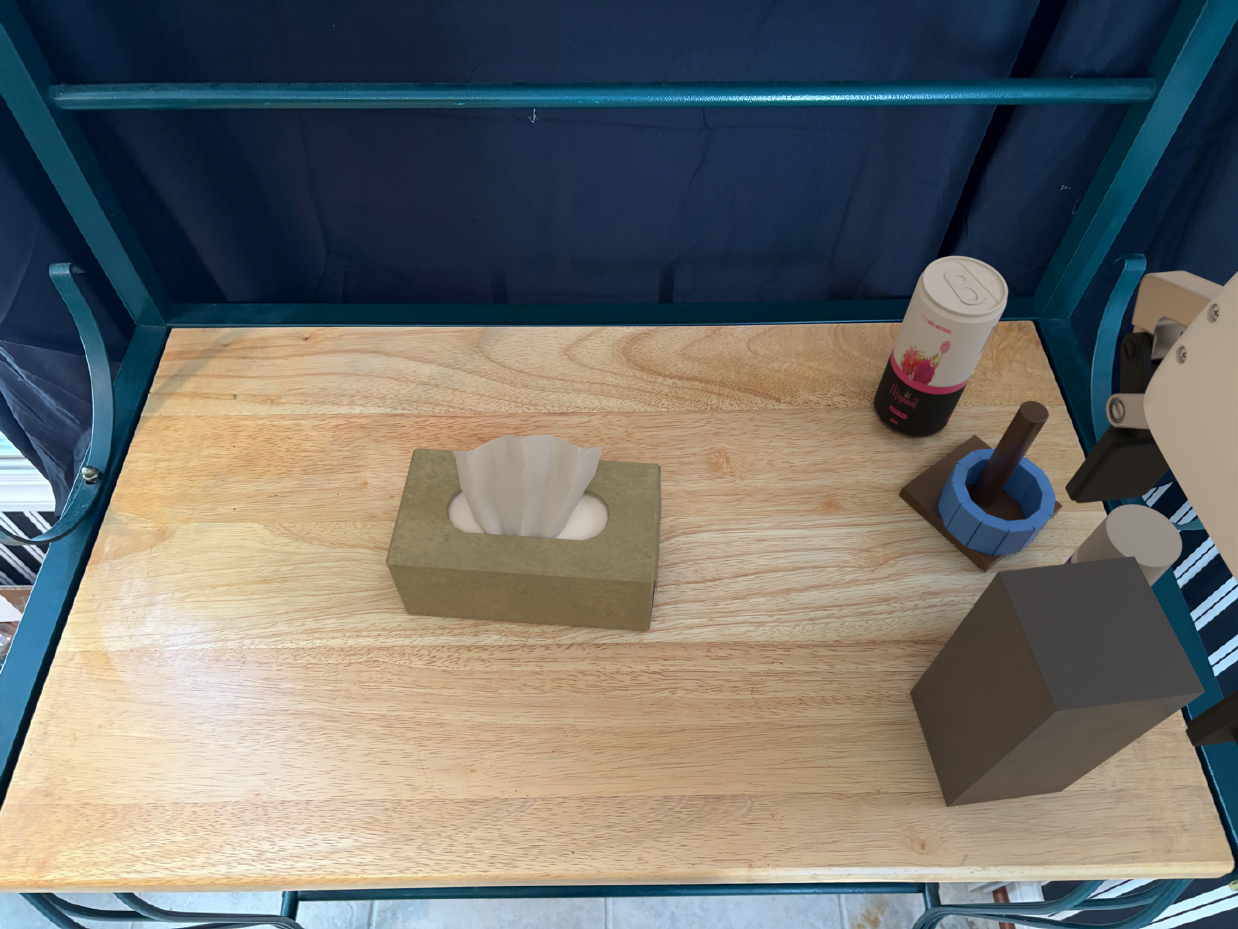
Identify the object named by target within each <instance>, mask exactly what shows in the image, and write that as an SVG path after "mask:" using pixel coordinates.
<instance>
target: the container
mask: <svg viewBox="0 0 1238 929" xmlns="http://www.w3.org/2000/svg"><path fill="white" fill-rule="evenodd" d="M1182 550H1183V541H1182V537H1181V534H1180V532H1179V531H1178V529H1177V528H1176V526H1175V524H1174V523H1172V521H1171V520H1170V519H1168V518H1167V517H1166V516H1165V515H1164V514H1162V513H1160V512H1159V511H1157V510H1156V509H1153V508H1152V507H1148V506H1145V505H1141V504H1133V503H1132V504H1123V505H1119V506H1116V508H1114V509H1112V510H1111V511H1110V512H1109V513H1108V514H1107V515H1106V517H1104V519H1103V520H1102V521H1101V522H1100V523H1099V524H1098V525H1097V526H1096V528H1095V529H1094V530H1093V531H1092V532H1091V533H1090V534H1089V535H1088V537H1086V538H1085V539H1084V541H1083V542H1082V543H1081V544H1080V545H1079V546H1078V547H1077V548H1076V549H1075V550H1074V552H1073V553H1072V554H1071V555H1070V556H1069V557H1068V559H1067V560H1065V563H1064V564H1069V563H1078V562H1087V561H1096V560H1104V559H1113V558H1122V557H1131V556H1135V558H1136V560H1137V562H1138V564H1139V566H1140V567H1141V569H1142V571H1143V573H1144V575H1145V577H1146V579H1147V581H1148V583H1149V585H1150V587H1151V588H1152V586H1153V585H1154V584H1155V583H1156V582H1157V581H1158V580H1159V579H1160V578H1161V577H1162V576H1163V575H1164V574H1165V573H1166V572H1167V570H1169V568H1170V567H1171V566H1172V565H1173V564H1174V563H1175V562H1176V561H1177V560H1178V559H1179V557H1180V556H1181V554H1182Z"/></svg>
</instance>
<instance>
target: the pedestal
mask: <svg viewBox="0 0 1238 929" xmlns="http://www.w3.org/2000/svg"><path fill="white" fill-rule="evenodd" d="M1159 602H1160V601H1158V598H1157V597H1156V594H1155V593H1154V590H1153V589H1152V586H1151V587H1150V585H1149V583H1148V581H1147V579H1146V577H1145V575H1144V573H1143V571H1142V569H1141V567H1140V566H1139V564H1138V562H1137V560H1136V558H1135V556H1131V557H1122V558H1113V559H1104V560H1096V561H1087V562H1078V563H1069V564H1065V563H1062V564H1061V563H1060V564H1054V565H1045V566H1035V567H1026V568H1017V569H1008V570H1001V571H997V573H996V574H995V575H994V577H993V578H992V579H991V581H990V582H989V584H988V585H987V586H986V588H985V589H984V590H983V592H982V593H981V595H980V596H979V597H978V599H977V600H976V601H975V603H974V604H973V606H972V607H971V608H970V610H969V611H968V612H967V614H966V615H965V617H964V618H963V619H962V620H961V622H960V624H959V625H958V626H957V628H956V629H955V630H954V631H953V633H952V634H951V635H950V637H949V638H948V640H947V641H946V642H945V644H944V645H943V647H942V648H941V649H940V650H939V652H938V653H937V655H936V656H935V657H934V659H933V660H932V662H931V663H930V664H929V666H928V667H927V668H926V669H925V671H924V672H923V674H922V675H921V677H920V678H919V679H918V680H917V682H916V683H915V685H914V686H913V688H912V689H910V692H909V693H910V697H911V700H912V703H913V707H914V709H915V712H916V715H917V718H918V722H919V726H920V728H921V730H922V733H923V737H924V741H925V743H926V746H927V750H928V752H929V755H930V758H931V761H932V764H933V767H934V771H935V774H936V777H937V779H938V782H939V785H940V789H941V792H942V796H943V798H944V801H945V804H946V807H947V808H949V807H951V808H952V807H956V806H957V807H958V806H965V805H973V804H979V803H987V802H994V801H1002V800H1008V799H1009V800H1010V799H1017V798H1023V797H1030V796H1038V795H1046V794H1053V793H1061V792H1063V791H1064V790H1066V789H1067V788H1069V787H1070V786H1071V785H1073V784H1075V783H1076V782H1077V781H1079V780H1080V779H1082V778H1083V777H1084V776H1086V775H1087V774H1089V773H1091V771H1093V770H1095V769H1096V768H1097V767H1099V766H1100V765H1102V764H1104V763H1105V762H1106V761H1108V760H1110V758H1112V757H1113V756H1115V755H1117V754H1118V753H1119V752H1120V751H1122V750H1124V749H1125V748H1126V747H1128V746H1129V745H1130V744H1132V743H1134V742H1135V741H1136V740H1138V739H1140V738H1141V737H1142V736H1144V735H1145V734H1146V733H1148V732H1150V731H1151V730H1152V729H1154V728H1155V727H1157V726H1158V725H1159V724H1161V723H1162V722H1164V721H1165V720H1168V718H1170V717H1171V716H1173V715H1174V714H1176V713H1177V712H1178V711H1180V710H1181V709H1182V708H1184V707H1185V706H1187V705H1189V704H1190V703H1191V702H1193V701H1195V699H1197V698H1198V697H1200V696H1201V695H1203V694H1204V693H1206V691H1205V688H1204V687H1203V684H1202V683H1201V681H1200V679H1199V677H1198V675H1197V673H1196V671H1195V669H1194V667H1193V665H1192V664H1191V661H1190V660H1189V658H1188V655H1187V654H1186V652H1185V650H1184V648H1183V646H1182V645H1181V642H1180V640H1179V639H1178V637H1177V635H1176V633H1175V631H1174V629H1173V627H1172V625H1171V623H1170V622H1169V619H1168V617H1167V615H1166V614H1165V611H1164V610H1163V608H1162V606H1161V603H1159Z"/></svg>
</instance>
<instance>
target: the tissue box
mask: <svg viewBox="0 0 1238 929" xmlns="http://www.w3.org/2000/svg"><path fill="white" fill-rule="evenodd" d="M602 451H603V445H599V446H593V447H589V448H585V447H581V446H578V445H576V444H574V443H572V442H570V441H568V440H567V439H564V438H561V437H558V436H556V435H554V434H544V433H543V434H534V435H533V434H532V435H522V436H521V435H508V434H505V435H501V436H498V437H496V438H493V439H490V440H488V441H486V442H485V443H483V444H481V445H479V446H477V447H475V448H472V449H470V450H465V451H464V450H456V449H450V450H449V449H434V448H433V449H431V448H415V449H413V451H412V456H411V459H410V463H409V467H408V471H407V474H406V479H405V483H404V487H403V491H402V495H401V499H400V503H399V507H398V511H397V515H396V518H395V523H394V527H393V531H392V535H391V539H390V543H389V546H388V551H387V555H386V559H385V563H386V565H387V568H388V570H389V573H390V575H391V578H392V580H393V583H394V585H395V587H396V590H397V592H398V595H399V598H400V599H401V602H402V604H403V607H404V609H405V611H406V613H407V615H413V616H414V615H415V616H416V615H417V616H429V617H444V618H455V619H456V618H458V619H472V620H485V621H499V622H514V623H515V622H516V623H527V624H528V623H529V624H542V625H558V626H571V627H572V626H573V627H584V628H597V629H598V628H599V629H614V630H627V631H640V632H641V631H642V632H647V631H649V630H650V629H651V622H652V614H653V607H654V599H655V592H656V593H658V580H659V579H658V578H659V558H660V540H661V524H662V523H661V522H662V471H661V470H662V466H661V465H660V464H658V463H648V462H633V461H619V460H617V461H616V460H603V459H602V460H601V455H602Z"/></svg>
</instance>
